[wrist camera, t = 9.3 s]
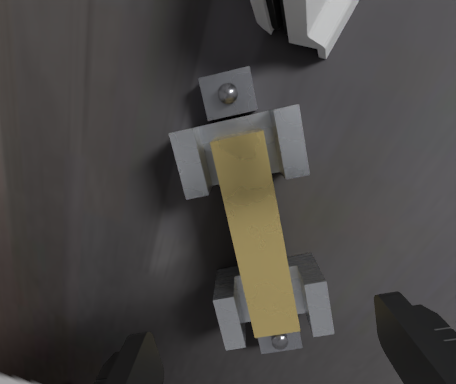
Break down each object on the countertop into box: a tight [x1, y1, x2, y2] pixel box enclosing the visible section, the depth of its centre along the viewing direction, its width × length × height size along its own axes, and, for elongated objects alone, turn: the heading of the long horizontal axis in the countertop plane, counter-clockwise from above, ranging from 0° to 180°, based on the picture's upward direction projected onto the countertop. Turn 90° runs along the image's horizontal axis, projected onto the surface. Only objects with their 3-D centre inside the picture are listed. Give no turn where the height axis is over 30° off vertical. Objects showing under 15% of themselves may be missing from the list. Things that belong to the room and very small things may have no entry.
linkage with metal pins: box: [169, 66, 334, 354], centre depth 20 cm, size 7×21×4 cm, turn 13°
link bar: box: [210, 128, 300, 338], centre depth 19 cm, size 3×13×3 cm, turn 12°
